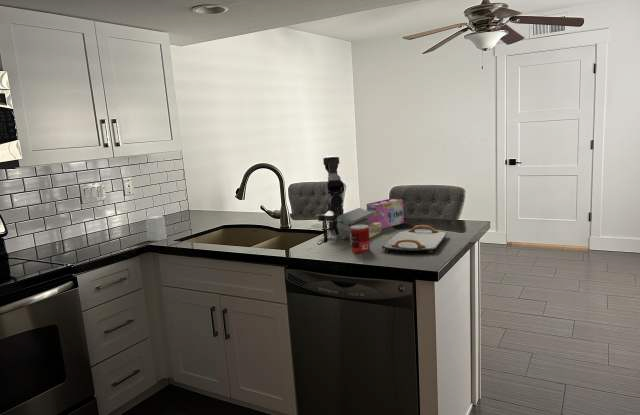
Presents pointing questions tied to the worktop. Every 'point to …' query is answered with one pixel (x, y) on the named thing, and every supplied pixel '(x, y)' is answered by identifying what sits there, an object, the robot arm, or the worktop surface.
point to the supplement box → (156, 228)
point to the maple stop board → (373, 229)
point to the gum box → (386, 212)
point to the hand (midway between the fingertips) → (337, 234)
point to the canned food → (360, 238)
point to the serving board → (416, 240)
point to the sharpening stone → (352, 220)
